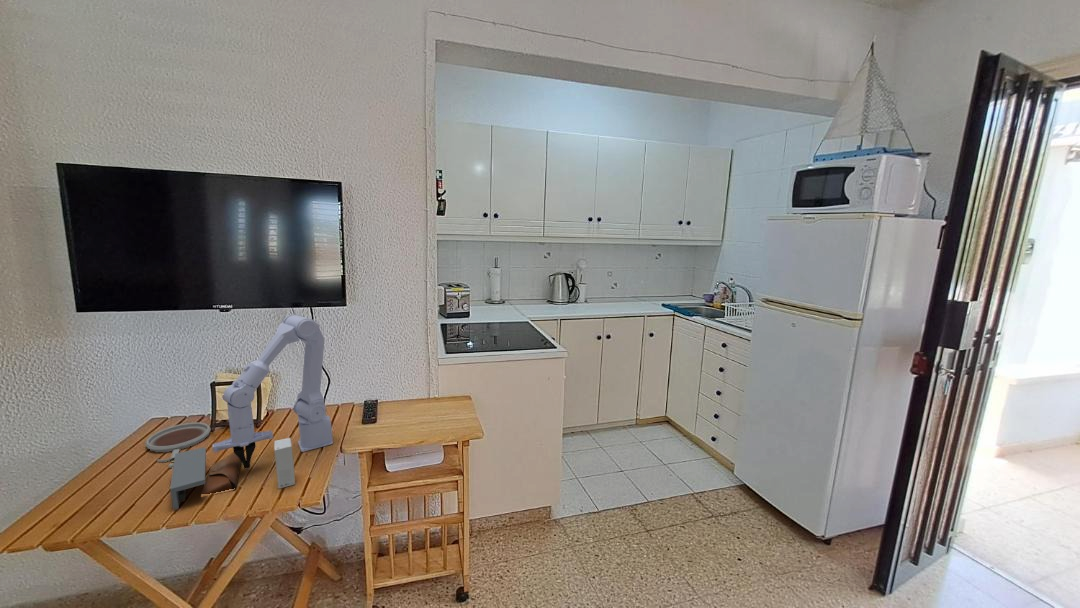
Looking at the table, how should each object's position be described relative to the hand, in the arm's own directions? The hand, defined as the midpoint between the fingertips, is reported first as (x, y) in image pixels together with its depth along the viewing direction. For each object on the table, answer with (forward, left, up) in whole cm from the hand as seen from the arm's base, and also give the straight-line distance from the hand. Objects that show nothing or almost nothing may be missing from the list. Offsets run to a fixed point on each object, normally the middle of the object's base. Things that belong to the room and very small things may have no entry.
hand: (246, 466), depth 128 cm
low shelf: (+13, 0, -1) cm, 13 cm away
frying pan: (+17, -28, -2) cm, 33 cm away
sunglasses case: (+6, 0, -2) cm, 6 cm away
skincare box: (-9, +12, -2) cm, 15 cm away
